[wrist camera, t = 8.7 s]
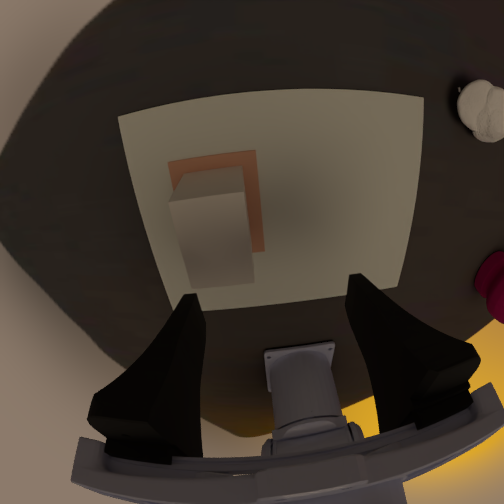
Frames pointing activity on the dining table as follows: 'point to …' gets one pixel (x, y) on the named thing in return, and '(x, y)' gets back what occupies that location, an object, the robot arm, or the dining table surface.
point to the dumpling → (482, 110)
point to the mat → (290, 185)
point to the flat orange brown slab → (250, 181)
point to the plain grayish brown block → (213, 227)
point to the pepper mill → (492, 284)
